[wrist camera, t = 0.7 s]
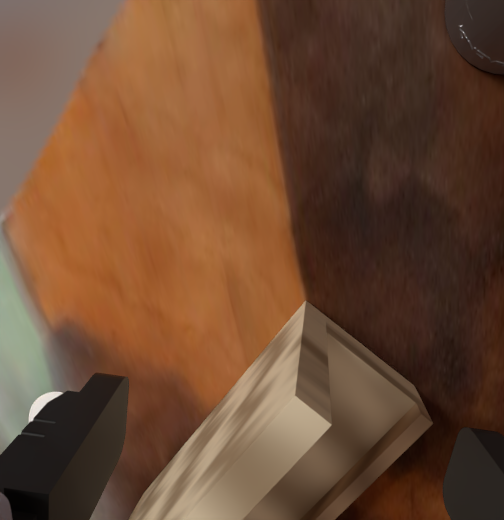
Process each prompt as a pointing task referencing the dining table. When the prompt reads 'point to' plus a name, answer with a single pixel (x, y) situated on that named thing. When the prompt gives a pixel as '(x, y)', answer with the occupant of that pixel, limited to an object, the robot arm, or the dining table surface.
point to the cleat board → (293, 433)
